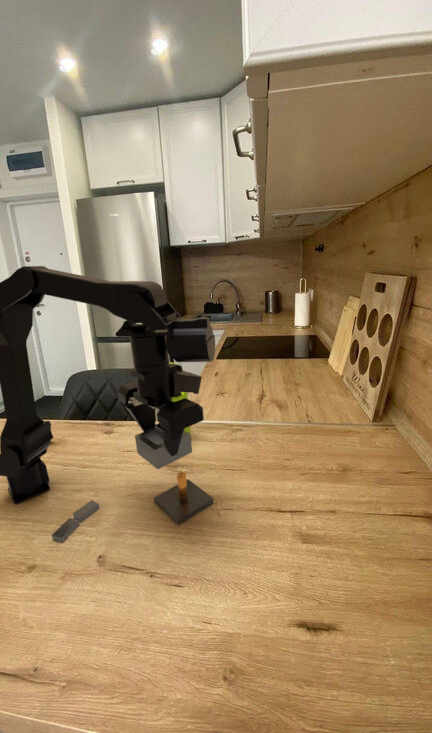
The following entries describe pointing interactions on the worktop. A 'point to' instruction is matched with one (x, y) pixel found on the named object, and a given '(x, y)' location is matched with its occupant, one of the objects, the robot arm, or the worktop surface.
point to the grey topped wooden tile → (86, 511)
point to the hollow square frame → (160, 448)
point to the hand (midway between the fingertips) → (162, 447)
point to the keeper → (183, 500)
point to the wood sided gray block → (65, 530)
